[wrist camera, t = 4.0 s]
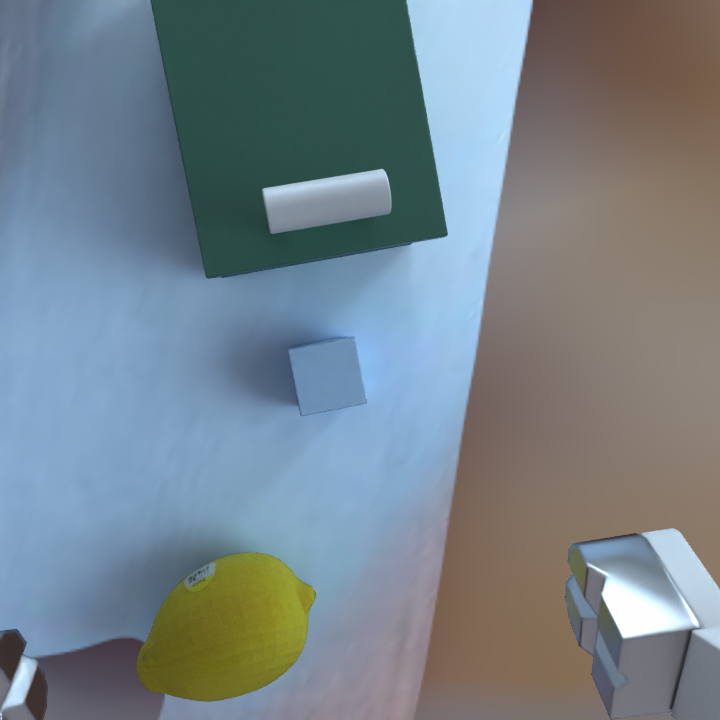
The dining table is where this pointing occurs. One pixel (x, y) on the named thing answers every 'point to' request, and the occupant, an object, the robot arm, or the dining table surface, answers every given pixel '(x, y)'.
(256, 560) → the lemon
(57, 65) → the dining table surface
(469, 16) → the dining table surface
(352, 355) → the block
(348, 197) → the bin lid
